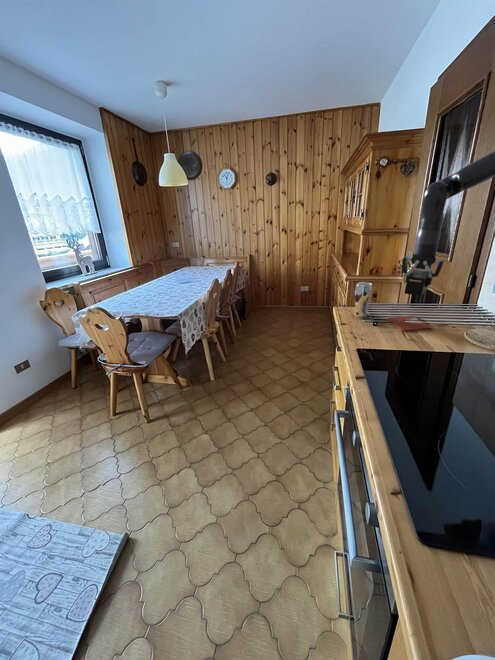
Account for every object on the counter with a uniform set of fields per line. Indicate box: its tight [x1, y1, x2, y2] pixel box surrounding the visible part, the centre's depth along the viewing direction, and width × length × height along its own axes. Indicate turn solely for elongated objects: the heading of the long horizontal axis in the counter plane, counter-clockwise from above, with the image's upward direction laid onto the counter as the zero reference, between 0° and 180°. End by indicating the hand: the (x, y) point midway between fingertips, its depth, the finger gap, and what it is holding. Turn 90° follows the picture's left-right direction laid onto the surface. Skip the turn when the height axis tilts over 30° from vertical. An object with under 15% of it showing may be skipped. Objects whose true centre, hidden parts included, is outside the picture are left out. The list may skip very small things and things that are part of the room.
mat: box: [387, 315, 432, 332], centre depth 121 cm, size 12×12×1 cm
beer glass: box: [353, 281, 373, 319], centre depth 127 cm, size 7×7×15 cm
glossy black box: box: [404, 269, 429, 297], centre depth 112 cm, size 11×6×7 cm, turn 139°
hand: (417, 284), depth 112 cm, fingers closed on glossy black box, 6 cm apart
